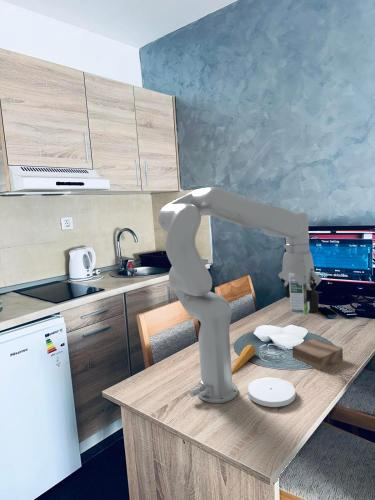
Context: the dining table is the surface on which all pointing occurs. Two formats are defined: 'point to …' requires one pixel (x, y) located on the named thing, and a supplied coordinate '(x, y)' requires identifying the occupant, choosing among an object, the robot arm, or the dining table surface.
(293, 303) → the syrup box
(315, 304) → the pen holder
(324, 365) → the walnut block
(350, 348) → the dining table surface
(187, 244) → the robot arm
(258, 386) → the plastic lid
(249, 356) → the carrot
